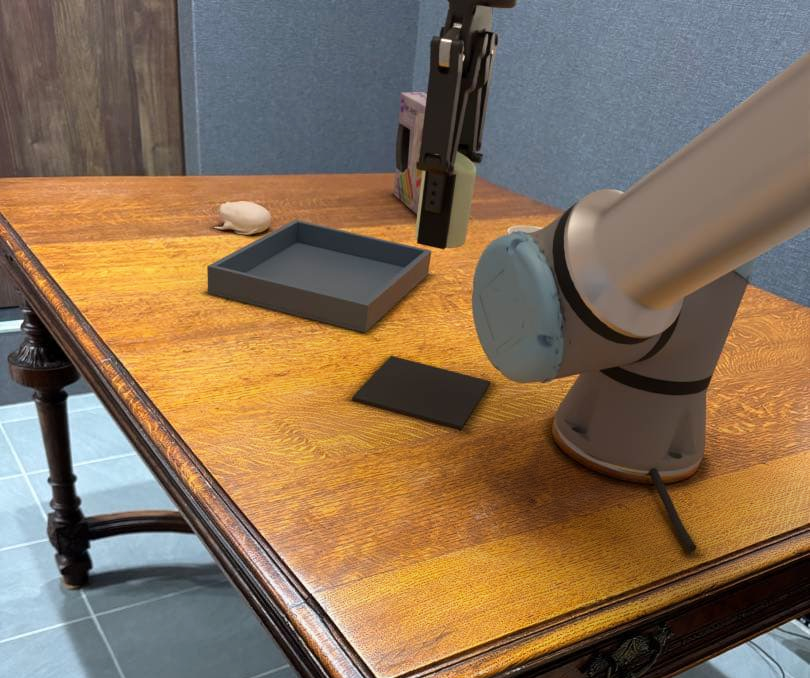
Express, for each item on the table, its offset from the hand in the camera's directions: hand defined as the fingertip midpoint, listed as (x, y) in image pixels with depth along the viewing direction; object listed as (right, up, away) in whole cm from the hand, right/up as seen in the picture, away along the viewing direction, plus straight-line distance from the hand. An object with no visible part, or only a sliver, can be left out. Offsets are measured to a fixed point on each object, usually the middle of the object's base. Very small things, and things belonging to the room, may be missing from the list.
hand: (440, 237), depth 79 cm
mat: (-1, -14, +9) cm, 16 cm away
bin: (-14, +6, +32) cm, 35 cm away
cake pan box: (-1, +31, +68) cm, 75 cm away
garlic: (-29, +19, +47) cm, 58 cm away
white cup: (+13, +2, +33) cm, 35 cm away
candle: (0, 0, 0) cm, 0 cm away
